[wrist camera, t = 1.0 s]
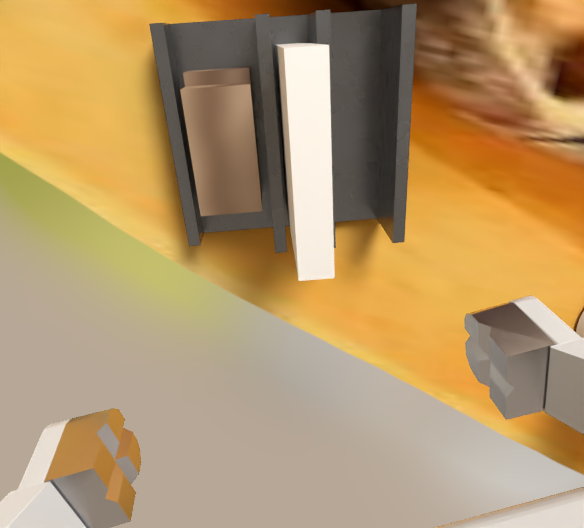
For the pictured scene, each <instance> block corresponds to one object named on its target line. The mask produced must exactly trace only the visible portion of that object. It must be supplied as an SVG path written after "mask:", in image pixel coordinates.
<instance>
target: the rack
mask: <svg viewBox="0 0 584 528" xmlns="http://www.w3.org/2000/svg"><path fill="white" fill-rule="evenodd" d="M416 10H417V4H405V5H399V6H395V7H390V8H386V9H382V10H369V11H354V12H340V13H331V11H330V10H317V11H314V12H312V13H310V14H308V15H296V16H281V17H270V15H269V14H258V15H255V18H252V19H237V20H223V21H208V22H193V23H179V24H167V23H154V24H149V25H150V30H151V36H152V41H153V47H154V52H155V58H156V64H157V69H158V75H159V80H160V86H161V91H162V97H163V103H164V108H165V114H166V119H167V125H168V130H169V136H170V141H171V147H172V153H173V158H174V164H175V169H176V175H177V180H178V186H179V192H180V197H181V203H182V208H183V214H184V219H185V225H186V231H187V236H188V242H189V246H198V245H201V241H202V237H203V234H204V233H207V232H219V231H231V230H243V229H255V228H267V227H273V230H274V241H275V253H280V252H287V244H286V230H285V226H289V219H288V213H287V207H286V195H285V181H284V167H283V153H282V139H281V125H280V111H279V97H278V83H277V69H276V55H275V45H278V44H292V43H313V44H324V45H329V61H330V104H331V148H332V191H333V234H334V248H336V246H335V222H340V221H352V220H364V219H376V218H377V220H378V221H379V223H380V224H381V226H382V227H383V229H384V230H385V232H386V233H387V235H388V236H389V238H390V239H391V241H392V242H393V243H398V242H404V237H405V218H406V199H407V180H408V161H409V142H410V123H411V104H412V85H413V66H414V47H415V28H416ZM236 67H250V72H251V83H252V93H253V104H254V114H255V125H256V135H257V146H258V156H259V167H260V177H261V188H262V211H259V212H247V213H235V214H222V215H210V216H201V215H200V209H199V203H198V196H197V190H196V184H195V178H194V172H193V166H192V159H191V153H190V147H189V141H188V135H187V128H186V122H185V116H184V110H183V104H182V98H181V91H180V90H181V89H182V88H184V87H185V83H184V76H183V73H184V72H186V71H194V70H208V69H222V68H236Z"/></svg>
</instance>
